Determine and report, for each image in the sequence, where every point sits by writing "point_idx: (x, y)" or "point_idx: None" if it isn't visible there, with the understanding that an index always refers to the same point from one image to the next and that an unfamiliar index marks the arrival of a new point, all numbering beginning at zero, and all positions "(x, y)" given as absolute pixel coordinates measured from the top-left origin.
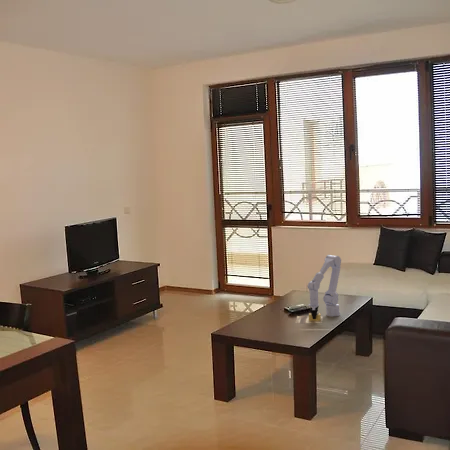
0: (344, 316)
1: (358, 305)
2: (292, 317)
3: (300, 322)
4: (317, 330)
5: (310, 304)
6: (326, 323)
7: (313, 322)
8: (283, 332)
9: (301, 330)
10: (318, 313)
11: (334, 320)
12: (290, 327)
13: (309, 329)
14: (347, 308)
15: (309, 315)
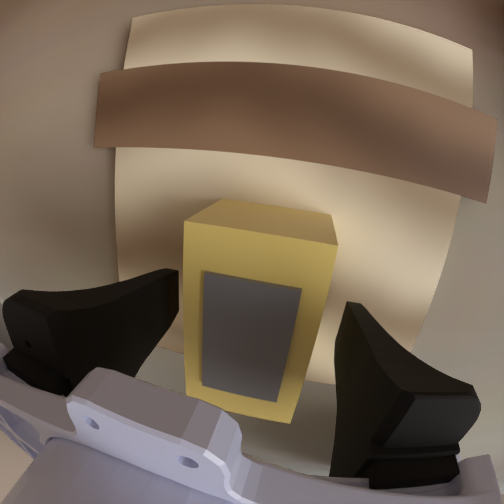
0: None
1: (501, 491)
2: (474, 8)
3: (139, 76)
4: (18, 259)
5: (56, 464)
6: (181, 373)
7: (134, 254)
8: (5, 18)
9: (8, 130)
10: (275, 399)
11: (273, 440)
12: (73, 11)
13: (22, 196)
14: (499, 473)
15: (188, 233)
